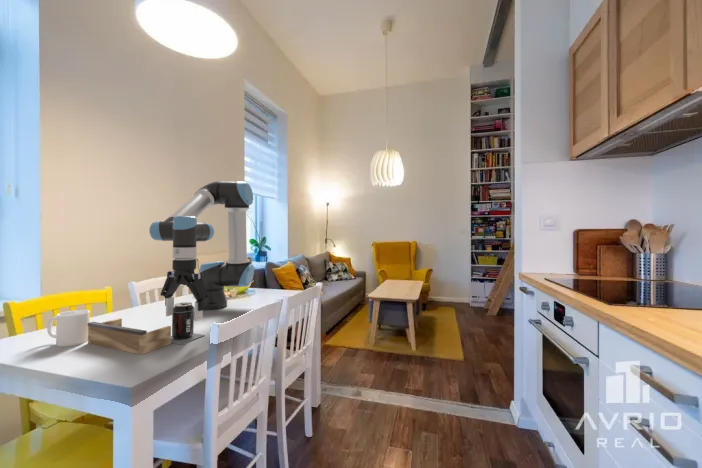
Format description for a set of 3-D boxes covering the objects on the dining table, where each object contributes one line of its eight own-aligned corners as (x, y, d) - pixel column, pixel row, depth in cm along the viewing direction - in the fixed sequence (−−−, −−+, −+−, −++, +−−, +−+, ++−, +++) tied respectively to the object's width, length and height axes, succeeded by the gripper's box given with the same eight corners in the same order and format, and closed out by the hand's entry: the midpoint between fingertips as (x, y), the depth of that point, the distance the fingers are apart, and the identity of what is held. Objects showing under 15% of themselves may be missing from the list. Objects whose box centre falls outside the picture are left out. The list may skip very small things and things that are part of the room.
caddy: (119, 334, 111) (119, 315, 111) (170, 343, 102) (171, 323, 102) (87, 343, 101) (87, 323, 101) (141, 354, 93) (141, 332, 93)
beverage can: (195, 338, 107) (196, 304, 108) (173, 342, 103) (174, 307, 103) (191, 333, 113) (191, 301, 113) (170, 336, 108) (170, 303, 108)
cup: (76, 346, 98) (77, 315, 98) (35, 347, 97) (36, 316, 97) (95, 338, 107) (95, 309, 107) (57, 338, 105) (58, 310, 105)
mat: (184, 332, 114) (184, 331, 114) (204, 335, 111) (204, 334, 111) (159, 341, 105) (159, 340, 105) (181, 345, 102) (181, 343, 102)
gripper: (149, 258, 109) (149, 316, 109) (203, 261, 100) (202, 324, 101) (168, 256, 116) (167, 311, 116) (220, 259, 108) (219, 318, 108)
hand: (183, 317), depth 108 cm, fingers open, 13 cm apart
